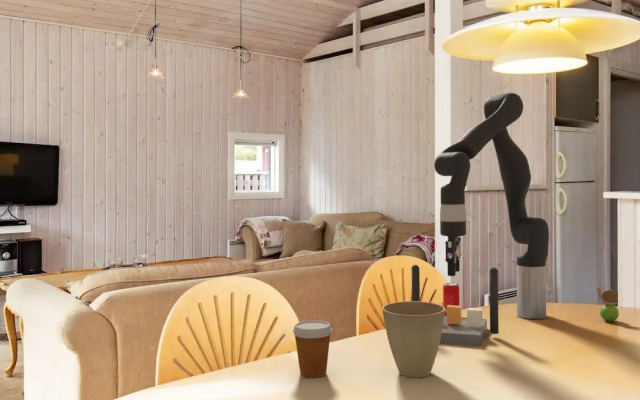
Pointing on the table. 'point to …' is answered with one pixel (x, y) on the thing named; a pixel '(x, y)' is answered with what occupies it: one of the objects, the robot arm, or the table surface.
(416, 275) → the dark grey rod
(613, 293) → the snail figurine
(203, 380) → the table surface
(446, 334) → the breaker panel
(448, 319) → the block
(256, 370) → the table surface
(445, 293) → the beverage can
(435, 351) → the plant pot
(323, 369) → the disposable coffee cup
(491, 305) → the dark grey post
